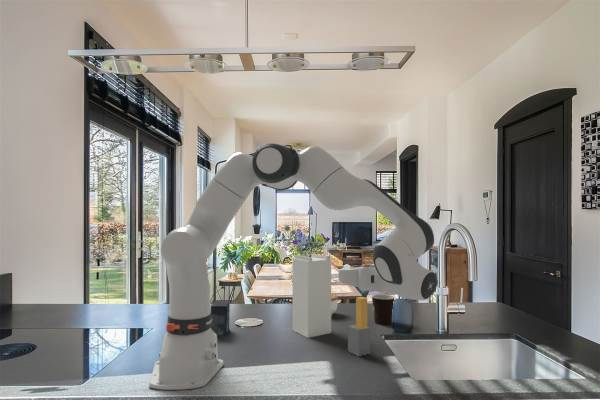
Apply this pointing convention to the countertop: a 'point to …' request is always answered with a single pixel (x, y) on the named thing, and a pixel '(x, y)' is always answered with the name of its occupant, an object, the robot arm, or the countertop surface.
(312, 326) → the tall grey pillar
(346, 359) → the countertop surface
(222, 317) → the box
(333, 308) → the lidded jar
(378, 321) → the coffee mug
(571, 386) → the countertop surface
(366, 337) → the grey and orange bar
